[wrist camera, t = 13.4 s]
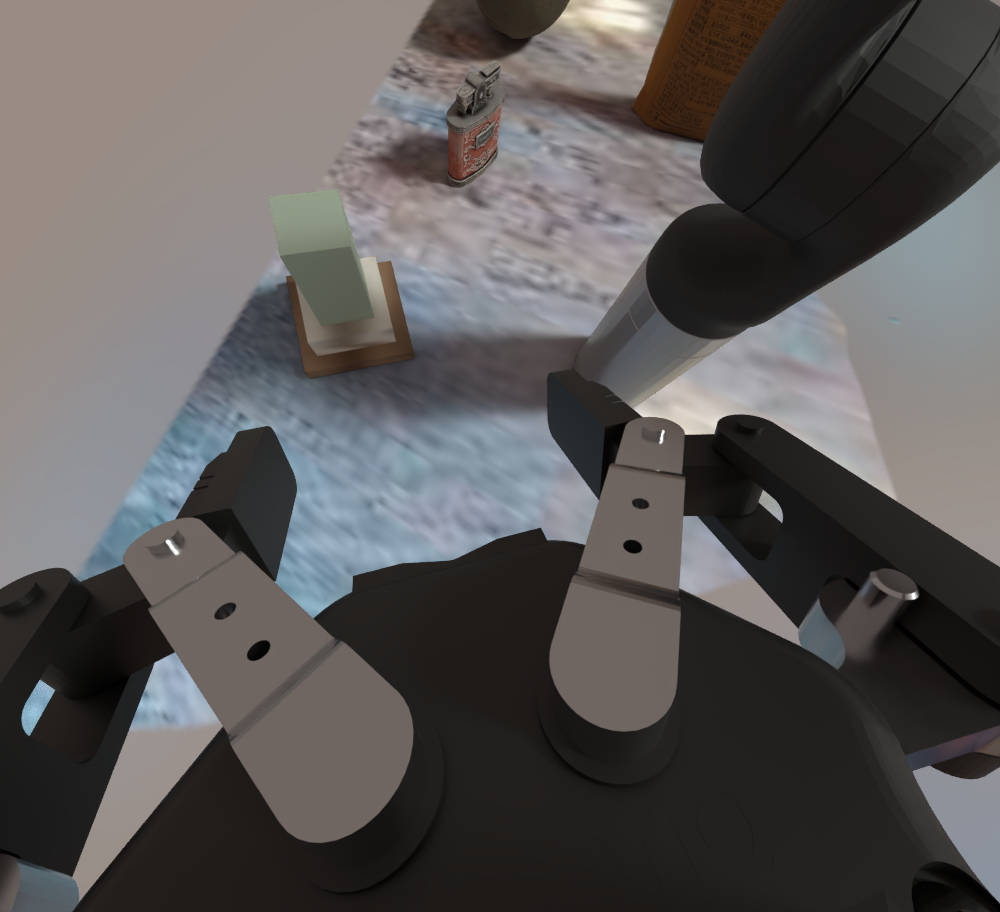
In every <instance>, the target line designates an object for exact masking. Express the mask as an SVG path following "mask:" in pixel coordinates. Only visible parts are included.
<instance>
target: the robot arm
mask: <svg viewBox="0 0 1000 912" xmlns="http://www.w3.org/2000/svg"><path fill="white" fill-rule="evenodd" d="M999 161H1000V7H999V6H998V5H996V4H994V3H993V2H991V1H990V0H787V1H786V3H785V4H784V6H783V7H782V8H781V10H780V11H779V13H778V14H777V16H776V17H775V19H774V20H773V22H772V23H771V24H770V26H769V27H768V29H767V30H766V32H765V33H764V35H763V36H762V38H761V39H760V40H759V42H758V44H757V45H756V47H755V48H754V50H753V51H752V53H751V54H750V56H749V57H748V59H747V60H746V62H745V63H744V65H743V67H742V68H741V70H740V71H739V73H738V75H737V76H736V78H735V80H734V81H733V83H732V85H731V86H730V88H729V90H728V92H727V93H726V95H725V97H724V99H723V100H722V102H721V104H720V106H719V108H718V110H717V112H716V114H715V116H714V118H713V121H712V123H711V125H710V128H709V130H708V133H707V135H706V138H705V141H704V145H703V149H702V154H701V159H700V167H701V175H702V178H703V180H704V182H705V183H706V185H707V186H708V187H709V188H710V189H711V191H713V192H714V193H715V194H716V195H717V196H718V197H719V198H720V199H721V200H722V201H723V202H724V203H726V204H707V205H702V206H698V207H695V208H693V209H691V210H688V211H686V212H685V213H683V214H682V215H680V216H679V217H678V218H677V219H675V220H674V221H673V222H672V223H671V224H670V225H669V226H668V228H667V229H666V230H665V231H664V233H663V234H662V235H661V237H660V238H659V240H658V241H657V243H656V244H655V245H654V247H653V248H652V250H651V251H650V253H649V254H648V255H647V257H646V258H645V260H644V261H643V262H642V264H641V265H640V267H639V268H638V270H637V271H636V273H635V274H634V275H633V277H632V278H631V280H630V281H629V283H628V284H627V285H626V287H625V288H624V290H623V291H622V292H621V294H620V295H619V297H618V298H617V299H616V301H615V302H614V304H613V305H612V306H611V308H610V309H609V311H608V312H607V314H606V315H605V316H604V318H603V319H602V321H601V322H600V323H599V325H598V326H597V328H596V329H595V330H594V332H593V333H592V335H591V336H590V337H589V339H588V340H587V342H586V343H585V344H584V346H583V347H582V349H581V350H580V352H579V354H578V355H577V357H576V361H575V365H574V369H568V370H563V371H558V372H553V373H549V375H548V378H547V411H548V425H549V430H550V433H551V435H552V437H553V438H554V440H555V441H556V443H557V444H558V445H559V447H560V448H561V449H562V451H563V452H564V453H565V455H566V456H567V457H568V459H569V460H570V462H571V463H572V464H573V466H574V467H575V468H576V470H577V471H578V472H579V474H580V475H581V477H582V478H583V479H584V481H585V482H586V483H587V485H588V486H589V487H590V489H591V490H592V491H593V493H594V494H595V496H596V497H597V498H598V500H599V502H598V506H597V509H596V512H595V516H594V519H593V522H592V525H591V529H590V532H589V535H588V539H587V542H586V545H583V544H579V543H575V542H569V541H558V540H547V539H546V537H545V535H544V533H543V531H542V529H541V528H538V529H534V530H530V531H526V532H522V533H518V534H514V535H510V536H507V537H503V538H499V539H496V540H494V541H492V542H490V543H488V544H486V545H484V546H482V547H480V548H478V549H475V550H473V551H471V552H469V553H467V554H465V555H463V556H461V557H459V558H457V559H454V560H450V561H436V562H419V563H402V564H398V565H394V566H390V567H386V568H382V569H379V570H375V571H371V572H367V573H363V574H359V575H355V576H353V589H352V592H351V593H349V594H347V595H345V596H344V597H342V598H340V599H339V600H337V601H335V602H334V603H332V604H331V605H330V606H328V607H327V608H325V609H324V610H323V611H322V612H320V613H319V614H318V615H317V616H316V617H315V618H312V617H311V616H310V615H309V614H308V613H307V612H306V611H304V610H303V609H302V608H301V607H300V606H299V605H298V604H297V603H296V602H295V601H294V600H293V599H292V598H291V597H290V596H289V595H287V594H286V593H285V592H284V591H283V590H282V589H281V588H280V587H279V586H278V585H277V584H276V583H275V582H274V581H276V578H277V574H278V570H279V565H280V561H281V557H282V553H283V548H284V544H285V540H286V536H287V531H288V527H289V523H290V519H291V514H292V510H293V506H294V502H295V497H296V493H297V485H296V479H295V476H294V473H293V470H292V468H291V466H290V464H289V462H288V460H287V458H286V455H285V453H284V451H283V449H282V447H281V445H280V443H279V440H278V438H277V436H276V434H275V432H274V431H273V429H272V428H271V427H269V426H265V427H260V428H255V429H249V430H244V431H239V432H237V434H236V435H235V437H234V439H233V441H232V443H231V445H230V447H229V449H228V450H227V452H224V453H221V454H220V455H219V456H217V457H216V458H215V459H214V460H213V461H211V462H210V463H209V464H208V465H207V466H206V468H205V469H204V471H203V473H202V474H201V476H200V480H199V481H197V483H196V485H195V486H194V488H193V489H194V491H192V492H191V493H190V495H189V497H188V498H187V500H186V502H185V504H184V505H183V507H182V509H181V511H180V512H179V514H178V516H177V517H176V519H175V520H172V521H169V522H166V523H164V524H161V525H159V526H157V527H155V528H153V529H151V530H150V531H148V532H146V533H145V534H143V535H142V536H141V537H139V538H138V539H137V540H136V541H135V542H133V543H132V544H131V545H130V547H129V548H128V549H127V551H126V552H125V554H124V557H123V563H124V564H123V565H121V566H118V567H116V568H113V569H111V570H109V571H106V572H104V573H101V574H99V575H96V576H94V577H91V578H89V579H87V580H84V581H82V582H80V581H78V580H77V579H76V578H75V577H74V576H73V575H72V574H71V573H70V572H69V571H68V570H66V569H63V568H51V569H46V570H42V571H38V572H35V573H33V574H30V575H27V576H25V577H23V578H20V579H18V580H16V581H14V582H12V583H10V584H8V585H7V586H5V587H3V588H2V589H0V912H1000V903H999V902H998V901H997V900H996V899H995V898H994V897H993V896H992V894H991V893H990V892H989V891H988V890H987V889H986V887H985V886H984V885H983V884H982V883H981V882H980V880H979V879H978V878H977V876H976V875H975V874H974V872H973V871H972V870H971V869H970V867H969V866H968V864H967V863H966V861H965V860H964V858H963V857H962V856H961V854H960V853H959V851H958V850H957V848H956V847H955V846H954V844H953V843H952V841H951V840H950V838H949V837H948V835H947V833H946V832H945V830H944V829H943V827H942V825H941V824H940V822H939V820H938V819H937V817H936V816H935V814H934V812H933V811H932V809H931V807H930V806H929V804H928V802H927V800H926V798H925V796H924V794H923V792H922V790H921V789H920V787H919V785H918V783H917V781H916V779H915V777H914V774H913V772H912V771H914V770H917V769H920V768H923V767H926V766H932V767H933V768H935V769H937V770H939V771H942V772H944V773H946V774H949V775H951V776H955V777H959V778H964V779H978V778H981V777H984V776H986V775H987V774H989V773H991V772H992V771H994V770H996V769H997V768H999V767H1000V567H999V566H997V565H995V564H994V563H992V562H991V561H989V560H987V559H986V558H985V557H983V556H981V555H980V554H978V553H977V552H975V551H974V550H972V549H970V548H969V547H967V546H966V545H964V544H963V543H961V542H960V541H958V540H956V539H955V538H953V537H952V536H950V535H949V534H947V533H945V532H944V531H942V530H941V529H939V528H938V527H936V526H934V525H932V524H931V523H930V522H928V521H927V520H925V519H923V518H922V517H920V516H919V515H917V514H916V513H914V512H912V511H911V510H909V509H908V508H906V507H905V506H903V505H902V504H900V503H898V502H897V501H895V500H894V499H892V498H891V497H889V496H887V495H886V494H884V493H883V492H881V491H880V490H878V489H876V488H875V487H873V486H872V485H870V484H869V483H867V482H866V481H864V480H862V479H861V478H859V477H858V476H856V475H855V474H853V473H851V472H850V471H848V470H847V469H845V468H844V467H842V466H840V465H839V464H837V463H836V462H834V461H833V460H831V459H829V458H828V457H826V456H825V455H823V454H822V453H820V452H819V451H817V450H815V449H814V448H812V447H811V446H809V445H808V444H806V443H804V442H803V441H801V440H800V439H798V438H797V437H795V436H793V435H792V434H790V433H789V432H787V431H786V430H784V429H782V428H781V427H779V426H778V425H776V424H775V423H773V422H771V421H769V420H766V419H764V418H760V417H757V416H751V415H740V414H739V415H729V416H726V417H723V418H721V419H720V420H719V421H718V423H717V426H716V430H715V434H703V435H685V433H684V430H683V429H682V428H681V427H680V426H679V425H678V424H676V423H675V422H672V421H670V420H667V419H663V418H657V417H642V416H641V415H639V414H638V413H637V412H636V411H635V410H633V409H632V408H634V407H636V406H637V405H639V404H640V403H642V402H643V401H645V400H646V399H647V398H649V397H650V396H652V395H653V394H655V393H656V392H658V391H659V390H660V389H662V388H663V387H665V386H666V385H668V384H669V383H670V382H672V381H673V380H675V379H676V378H678V377H679V376H680V375H682V374H683V373H685V372H686V371H688V370H689V369H690V368H692V367H693V366H695V365H696V364H697V363H699V362H700V361H702V360H703V359H705V358H706V357H707V356H709V355H710V354H712V353H713V352H715V351H716V350H717V349H719V348H720V347H721V346H723V345H724V344H726V343H727V342H729V341H730V340H731V339H733V338H734V337H736V336H737V335H739V334H740V333H741V332H743V331H745V330H746V329H747V328H749V327H753V326H757V325H759V324H762V323H764V322H766V321H768V320H770V319H771V318H773V317H775V316H776V315H778V314H779V313H781V312H782V311H784V310H786V309H787V308H789V307H790V306H792V305H794V304H795V303H797V302H798V301H800V300H802V299H803V298H805V297H807V296H808V295H810V294H812V293H813V292H815V291H817V290H818V289H820V288H822V287H823V286H825V285H827V284H828V283H830V282H832V281H833V280H835V279H837V278H838V277H840V276H842V275H844V274H845V273H847V272H849V271H850V270H852V269H854V268H855V267H857V266H859V265H860V264H862V263H864V262H865V261H867V260H868V259H870V258H872V257H873V256H875V255H876V254H878V253H879V252H881V251H883V250H884V249H886V248H888V247H889V246H891V245H893V244H894V243H896V242H897V241H899V240H900V239H902V238H903V237H905V236H906V235H908V234H909V233H911V232H912V231H914V230H915V229H917V228H918V227H919V226H921V225H922V224H924V223H925V222H926V221H928V220H929V219H931V218H932V217H933V216H935V215H936V214H938V213H939V212H940V211H942V210H943V209H944V208H946V207H947V206H948V205H950V204H951V203H952V202H954V201H955V200H956V199H957V198H958V197H960V196H961V195H962V194H963V193H964V192H966V191H967V190H968V189H969V188H970V187H971V186H973V185H974V184H975V183H976V182H977V181H978V180H979V179H981V178H982V177H983V176H984V175H985V174H986V173H987V172H988V171H990V170H991V169H992V168H993V167H994V166H995V165H996V164H997V163H998V162H999ZM763 490H764V491H765V492H767V493H768V494H769V495H770V496H771V497H773V498H774V499H775V500H776V501H777V502H778V504H779V505H780V507H781V509H782V513H783V522H782V523H781V522H780V521H779V520H778V519H777V518H776V517H774V516H773V515H772V514H771V513H770V512H769V511H768V510H767V509H765V508H764V507H763V506H762V505H761V504H760V503H759V499H760V496H761V494H762V491H763ZM683 516H698V517H699V518H700V520H701V521H702V522H703V523H704V524H705V525H706V526H707V527H708V529H709V530H710V531H711V532H712V533H713V534H714V535H715V536H716V537H717V539H718V540H719V541H720V542H721V543H722V544H723V545H724V546H725V547H726V549H727V550H728V551H729V552H730V553H731V554H732V555H733V556H734V558H735V559H736V560H737V561H738V562H739V563H740V564H741V565H742V566H743V568H744V569H745V570H746V571H747V572H748V573H749V574H750V575H751V576H752V578H753V579H754V580H755V581H756V582H757V583H758V584H759V585H760V586H761V588H762V589H763V590H764V591H765V592H766V593H767V594H768V595H769V597H770V598H771V599H772V600H773V601H774V602H775V603H776V604H777V605H778V607H779V608H780V609H782V611H783V612H784V613H785V614H786V615H787V617H788V618H789V619H790V620H791V621H792V622H793V623H794V624H795V626H796V627H797V628H798V629H799V631H798V635H799V641H800V644H801V646H802V647H801V646H799V645H797V644H795V643H792V642H790V641H788V640H786V639H784V638H782V637H780V636H778V635H776V634H774V633H771V632H769V631H767V630H765V629H763V628H761V627H759V626H757V625H755V624H753V623H751V622H749V621H746V620H744V619H742V618H740V617H738V616H736V615H734V614H732V613H730V612H728V611H725V610H723V609H721V608H719V607H717V606H715V605H713V604H711V603H709V602H707V601H705V600H702V599H700V598H698V597H696V596H694V595H692V594H690V593H688V592H686V591H684V590H681V589H679V580H680V562H681V545H682V528H683ZM174 652H175V653H176V654H177V656H178V657H179V659H180V660H181V662H182V663H183V665H184V666H185V668H186V670H187V671H188V673H189V674H190V676H191V677H192V679H193V680H194V682H195V683H196V685H197V687H198V688H199V690H200V691H201V693H202V694H203V696H204V697H205V699H206V700H207V702H208V704H209V705H210V707H211V708H212V710H213V711H214V713H215V714H216V716H217V717H218V719H219V721H220V722H221V724H222V725H223V727H222V728H221V729H220V731H219V732H218V733H217V734H216V736H215V737H214V738H213V739H212V740H211V742H210V743H209V744H208V745H207V747H206V748H205V749H204V750H203V752H202V753H201V754H200V755H199V756H198V758H197V759H196V760H195V761H194V762H193V764H192V765H191V766H190V767H189V769H188V770H187V771H186V772H185V774H184V775H183V776H182V777H181V778H180V780H179V781H178V782H177V783H176V785H175V786H174V787H173V788H172V789H171V791H170V792H169V793H168V795H166V797H165V798H164V799H163V800H162V802H161V803H160V804H159V805H158V806H157V808H156V809H155V810H154V811H153V813H152V814H151V815H150V816H149V817H148V819H147V820H146V821H145V822H144V823H143V825H142V826H141V827H140V828H139V830H138V831H137V832H136V833H135V835H134V836H133V837H132V838H131V839H130V841H129V842H128V843H127V844H126V845H125V847H124V848H123V849H122V850H121V852H120V853H119V854H118V855H117V856H116V858H115V859H114V860H113V861H112V863H111V864H110V865H109V866H108V867H107V869H106V870H105V871H104V872H103V874H102V875H101V876H100V877H99V878H98V880H97V881H96V882H95V883H94V885H93V886H92V887H91V888H90V889H89V891H88V892H87V893H86V894H85V896H84V897H83V898H82V900H81V901H80V902H79V891H78V887H77V884H76V882H75V880H74V879H73V878H72V876H73V874H74V871H75V868H76V866H77V863H78V861H79V858H80V855H81V853H82V850H83V848H84V845H85V842H86V840H87V837H88V835H89V832H90V829H91V827H92V824H93V822H94V819H95V817H96V814H97V811H98V809H99V806H100V804H101V801H102V798H103V796H104V793H105V791H106V788H107V785H108V783H109V780H110V778H111V775H112V772H113V770H114V767H115V765H116V762H117V759H118V757H119V754H120V751H121V749H122V746H123V744H124V741H125V739H126V736H127V733H128V731H129V728H130V726H131V723H132V720H133V718H134V715H135V713H136V710H137V708H138V705H139V702H140V700H141V697H142V695H143V692H144V689H145V687H146V684H147V682H148V679H149V676H150V674H151V671H152V669H153V666H154V663H155V662H157V661H159V660H161V659H163V658H164V657H166V656H168V655H170V654H172V653H174ZM39 680H42V681H43V682H44V683H46V684H47V685H49V686H50V687H52V688H53V689H55V692H54V694H53V696H52V697H51V699H50V701H49V703H48V704H47V706H46V708H45V710H44V712H43V713H42V715H41V717H40V719H39V720H38V722H37V724H36V726H35V728H34V729H33V731H32V733H31V735H30V736H28V735H27V734H26V733H25V731H24V729H23V727H22V721H21V718H22V711H23V708H24V705H25V703H26V701H27V700H28V698H29V696H30V695H31V693H32V691H33V690H34V688H35V686H36V685H37V683H38V682H39Z"/></svg>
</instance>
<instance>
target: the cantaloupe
mask: <svg viewBox="0 0 1000 912" xmlns="http://www.w3.org/2000/svg"><path fill="white" fill-rule="evenodd" d="M569 1H570V0H477V3H478V6H479V8H480V10H481V12H482V13H483V15H484V16H485V18H486V20H487V21H488V22H489V24H490V25H491V26H492V27H493V28H495V29H496V30H497V31H498V32H500V33H504V34H506V35H507V36H509V37H510V38H514V39H522V38H528V37H532V36H535V35H538V34H540V33H541V32H543V31H545V30H546V29H547V28H549V27H550V26H551V25H552V24H553V23H554V22H555V21H556V20H557V19H558V18H559V17H560V15H561V14H562V12H563V11H564V10H565V8H566V6H567V4H568V3H569Z"/></svg>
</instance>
